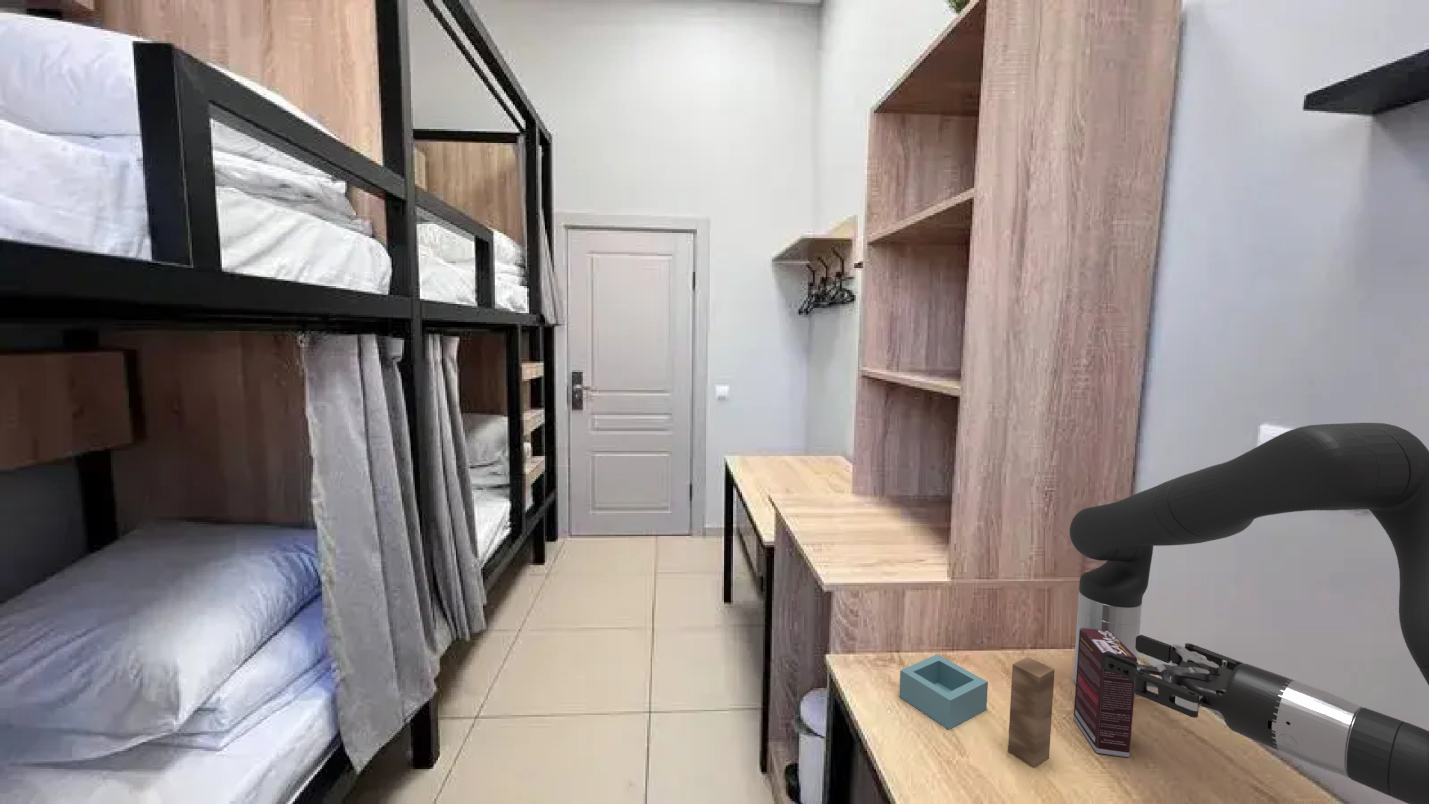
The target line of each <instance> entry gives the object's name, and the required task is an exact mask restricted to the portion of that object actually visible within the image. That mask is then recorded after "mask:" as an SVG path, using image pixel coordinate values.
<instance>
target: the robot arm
mask: <svg viewBox="0 0 1429 804" xmlns="http://www.w3.org/2000/svg"><path fill="white" fill-rule="evenodd" d="M1351 510H1355V511H1356V510H1369V512H1371V514H1372V515H1373V516H1374V517H1375V519H1376V520H1377V521H1378V523H1379V524H1380V525H1381V527H1382V529H1384V532H1386V534H1387V536H1388V537H1389V540H1390V541H1391V544H1392V547H1393V549H1394V551H1395V556H1396V559H1397V564H1398V571H1399V572H1398V573H1399V593H1398V594H1399V595H1398V617H1399V618H1398V619H1399V625H1400V630H1401V634H1402V637H1403V639H1404V642H1405V645H1406V647H1407V650H1408V651H1409V653H1410V656H1411V657H1412V659H1413V660H1414V663H1415V665H1416V666H1417V668H1418V670H1419V671H1420V673H1421V674H1422V675H1421V676H1422V677H1423V678H1424V679H1425V682H1426V684H1427V685H1428V686H1429V449H1428V448H1427V446H1426V445H1425V444H1424V443H1423V442H1422V441H1421V440H1420V439H1419V438H1418V437H1417V436H1416V435H1414V434H1413V433H1411V432H1410V431H1409V430H1406V429H1405V428H1402V427H1400V426H1398V425H1394V424H1393V425H1392V424H1390V423H1389V424H1388V423H1384V422H1383V423H1382V422H1350V423H1347V422H1346V423H1345V422H1343V423H1323V424H1309V425H1305V426H1304V425H1303V426H1300V427H1296V428H1293V429H1289V430H1287V431H1285V432H1283V433H1280V434H1279V435H1277V436H1275V437H1273V438H1271V439H1269V440H1266V442H1264V443H1261V444H1259V445H1258V446H1256V447H1254V448H1251V449H1250V450H1248V451H1247V452H1245V453H1242V454H1241V455H1239V456H1237V457H1235V458H1232V459H1230V460H1228V461H1226V462H1225V461H1224V462H1222V463H1219V464H1214V465H1210V466H1208V467H1205V468H1203V469H1199V470H1197V471H1194V472H1189V473H1186V474H1183V475H1181V476H1177V477H1175V478H1172V479H1169V480H1167V481H1165V482H1162V483H1160V484H1158V485H1156V486H1154V487H1151V488H1148V489H1145V490H1143V491H1140V492H1137V493H1135V494H1133V495H1132V494H1131V495H1130V496H1128V497H1125V498H1123V499H1121V500H1118V501H1115V502H1111V503H1105V504H1101V505H1095V506H1090V507H1086V508H1083V509H1080V510H1079V511H1078V512H1077V513H1076V514H1075V515H1074V516H1073V518H1072V520H1071V523H1070V524H1069V525H1070V526H1069V539H1070V541H1071V543H1072V545H1073V546H1074V548H1075V549H1076V550H1077V552H1078V553H1079V554H1081V555H1082V556H1083V557H1086V558H1089V559H1091V560H1095V561H1103V562H1104V561H1106V562H1105V563H1103V564H1101V565H1100V566H1098V567H1097V568H1094V569H1092V570H1089V571H1086V572H1084V573H1083V574H1082V575H1081V576H1080V578H1079V584H1078V585H1079V586H1078V601H1077V614H1076V616H1077V617H1076V618H1077V619H1076V629H1075V630H1076V631H1075V649H1074V658H1073V659H1074V660H1073V661H1074V662H1073V672H1072V673H1073V675H1072V676H1073V677H1072V680H1073V683H1074V685H1076V676H1077V661H1078V646H1079V631H1080V628H1088V629H1098V630H1106V631H1111V632H1112V633H1113V634H1114V635H1115V636H1116V637H1117V638H1118V639H1119V640H1120V641H1121V642H1122V643H1123V644H1124V645H1125V646H1126V647H1127V648H1128V649H1129V650H1130V651H1131V652H1132V653H1133V654H1134V655H1135V656H1136V657H1137V662H1135V661H1132V660H1130V659H1127V658H1125V657H1122V656H1120V655H1117V654H1115V653H1112V652H1110V651H1106V652H1104V653H1102V667H1103V668H1104V669H1106V670H1108V671H1110V672H1113V673H1115V674H1117V675H1120V676H1122V677H1124V678H1127V679H1129V680H1131V681H1133V682H1134V698H1135V696H1136V695H1137V696H1140V697H1142V698H1145V699H1147V700H1149V701H1152V702H1154V703H1156V704H1159V705H1162V706H1164V707H1166V708H1169V709H1172V711H1173V710H1174V711H1176V712H1179V713H1180V714H1182V715H1186V716H1188V717H1191V718H1199V711H1200V710H1199V709H1200V707H1201V708H1206V709H1209V710H1212V711H1216V712H1219V714H1221V715H1222V717H1223V719H1224V722H1225V724H1226V726H1227V727H1228V729H1230V730H1231V731H1232V732H1235V733H1237V734H1240V735H1242V736H1244V737H1246V738H1248V739H1251V740H1253V741H1255V742H1258V743H1260V744H1263V745H1264V746H1267V747H1270V749H1271V748H1272V749H1274V750H1276V751H1278V752H1280V753H1283V754H1285V755H1287V756H1290V757H1292V758H1294V759H1297V760H1299V761H1301V762H1304V763H1305V764H1307V765H1311V766H1313V767H1316V768H1318V769H1320V770H1324V771H1327V772H1330V773H1334V774H1336V775H1338V776H1341V777H1344V778H1346V779H1350V780H1352V781H1354V782H1356V783H1359V784H1360V785H1363V786H1365V787H1368V788H1370V789H1373V790H1375V791H1377V792H1380V793H1381V794H1384V795H1386V796H1389V797H1392V798H1394V799H1396V800H1398V801H1400V802H1403V803H1406V804H1429V730H1427V729H1425V728H1423V727H1420V726H1417V725H1416V724H1412V723H1409V722H1407V721H1404V720H1401V719H1398V718H1395V717H1392V716H1389V715H1386V714H1383V713H1381V712H1379V711H1375V710H1372V709H1370V708H1367V707H1363V706H1361V705H1359V704H1357V703H1353V702H1352V701H1349V700H1347V699H1345V698H1343V697H1341V696H1338V695H1336V694H1334V693H1333V692H1332V693H1331V692H1329V691H1326V690H1323V689H1320V688H1318V687H1314V686H1312V685H1310V684H1309V685H1308V684H1306V683H1303V682H1300V681H1298V680H1294V679H1291V678H1289V677H1287V676H1284V675H1281V674H1277V673H1275V672H1272V671H1269V670H1267V669H1263V668H1260V667H1258V666H1255V665H1252V664H1249V663H1244V662H1242V661H1239V660H1236V659H1234V658H1231V657H1229V656H1225V655H1223V654H1220V653H1217V652H1215V651H1212V650H1209V649H1207V648H1205V647H1204V648H1203V647H1201V646H1199V645H1196V644H1193V643H1188V642H1186V643H1184V646H1182V645H1180V644H1172V645H1171V644H1169V643H1165V642H1163V641H1161V640H1158V639H1156V638H1152V637H1149V636H1146V635H1144V634H1140V633H1141V622H1142V620H1141V619H1142V618H1141V617H1142V607H1143V606H1142V605H1143V604H1142V603H1143V597H1144V594H1145V593H1146V591H1147V590H1148V586H1149V578H1150V573H1151V566H1152V559H1153V555H1154V554H1153V553H1154V547H1155V546H1156V547H1158V546H1159V547H1163V546H1165V547H1166V546H1183V545H1195V544H1202V543H1207V542H1212V541H1216V540H1220V539H1226V538H1229V537H1231V536H1235V535H1236V534H1240V533H1241V532H1243V531H1245V530H1246V529H1247V528H1248V527H1250V525H1251V524H1252V523H1253V521H1254V520H1255V519H1258V518H1262V517H1266V516H1273V515H1279V514H1285V513H1295V512H1308V511H1351ZM1140 653H1141V654H1142V655H1146V656H1147V657H1151V658H1153V659H1156V660H1157V661H1161V662H1164V663H1161V664H1159V665H1158V666H1155V665H1153V666H1152V665H1148V664H1147V665H1146V664H1140V663H1139V662H1138V660H1139V659H1138V658H1139V654H1140ZM1165 663H1166V664H1165ZM1170 663H1171V665H1170ZM1156 692H1157V693H1156Z"/></svg>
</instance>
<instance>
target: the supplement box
mask: <svg viewBox="0 0 1429 804" xmlns="http://www.w3.org/2000/svg"><path fill="white" fill-rule="evenodd" d="M1106 651H1110V652H1112V653H1115V654H1117V655H1120V656H1122V657H1125V658H1127V659H1130V660H1132V661H1135V662H1137V657H1136V656H1135V655H1134V654H1133V653H1132V652H1131V651H1130V650H1129V649H1128V648H1127V647H1126V646H1125V645H1124V644H1123V643H1122V642H1121V641H1120V640H1119V639H1118V638H1117V637H1116V636H1115V635H1114V634H1113V633H1112V632H1111V631H1106V630H1098V629H1088V628H1080V631H1079V646H1078V661H1077V676H1076V684H1075V688H1074V689H1075V691H1074V706H1073V707H1074V708H1073V720H1074V721H1075V723H1076V725H1077V726H1078V728H1079V729H1080V731H1081V732H1082V734H1083V735H1084V737H1085V738H1086V740H1087V741H1088V742H1089V744H1090V745H1091V747H1092V749H1093V750H1094V751H1095V752H1096V754H1101V755H1108V756H1113V757H1114V756H1115V757H1123V758H1129V757H1130V755H1131V753H1130V751H1131V740H1132V739H1131V738H1132V728H1133V727H1132V726H1133V714H1134V703H1135V702H1134V701H1135V697H1134V682H1133V681H1131V680H1129V679H1127V678H1124V677H1122V676H1120V675H1117V674H1115V673H1113V672H1110V671H1108V670H1106V669H1104V668H1103V667H1102V653H1104V652H1106ZM1137 663H1138V662H1137Z"/></svg>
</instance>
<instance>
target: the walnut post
mask: <svg viewBox="0 0 1429 804" xmlns="http://www.w3.org/2000/svg"><path fill="white" fill-rule="evenodd" d="M1011 668H1012V669H1011V687H1010V706H1009V722H1008V724H1009V725H1008V739H1007V741H1008V742H1007V743H1008V744H1007V752H1008V753H1009V754H1011V755H1012V756H1014V757H1015V758H1017V759H1019V760H1020V761H1022V762H1024V763H1025V764H1027V765H1028V766H1029V767H1031V768H1033V769H1035V768H1037V767H1038V766H1040V765H1041V764H1043V763H1044V762H1046V761H1048V759H1050V749H1051V734H1052V720H1053V719H1052V715H1053V699H1054V687H1055V686H1054V685H1055V668H1053V667H1050V666H1049V665H1046V664H1044V663H1042V662H1040V661H1039V660H1038V661H1037V660H1035V659H1033V658H1031V657H1029V656H1027V657H1024V658H1022V659H1019V661H1016V662H1014V663H1013V664H1012V667H1011Z"/></svg>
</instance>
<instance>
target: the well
mask: <svg viewBox="0 0 1429 804" xmlns="http://www.w3.org/2000/svg"><path fill="white" fill-rule="evenodd" d="M899 672H900V673H899V696H898V697H899V699H902V701H905V702H906V703H908V704H909V705H911V706H912V707H914V709H916V710H917V711H920V712H921V713H922V714H924V715H926V716H927V717H928V718H930V719H932V720H933V721H935V722H936V723H937V724H939V725H940V726H942V727H944V728H946V729H947V730H948V731H949V730H951V729H954V728H955V727H958V726H959V725H960V724H963V723H965V722H966V721H968V720H970V719H971V718H974V717H975V716H978V715H979V714H981V713H984V711H986V710H987V709H988V708H987V706H988V705H987V704H988V690H989V689H988V686H989V682H988V681H987V680H986V679H984V678H982V677H980V676H978V675H976V674H974V673H973V672H971V671H969V670H967V669H965V668H964V667H962V666H960V665H958V664H957V663H955V662H953V661H950V660H949V659H947V658H945V657H943V656H941V655H939V654H937V653H936V654H935V655H932V656H930V657H928V658H925V659H923V660H920V661H918V662H916V663H914V664H911V665H909V666H906V667H905V668H902V669H900V671H899Z"/></svg>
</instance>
